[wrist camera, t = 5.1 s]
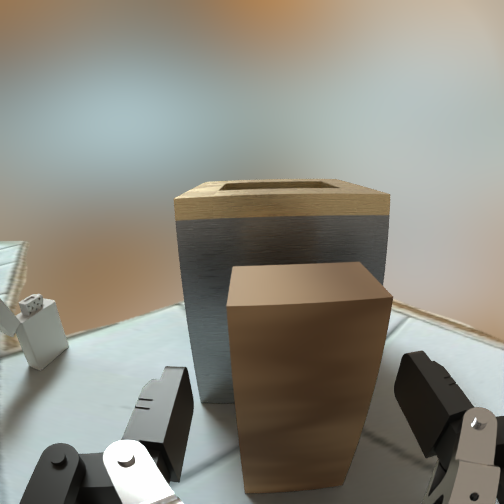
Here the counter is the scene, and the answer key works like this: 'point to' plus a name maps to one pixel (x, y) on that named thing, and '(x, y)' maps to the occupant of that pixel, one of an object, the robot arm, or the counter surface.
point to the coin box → (265, 249)
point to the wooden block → (303, 369)
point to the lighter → (35, 329)
